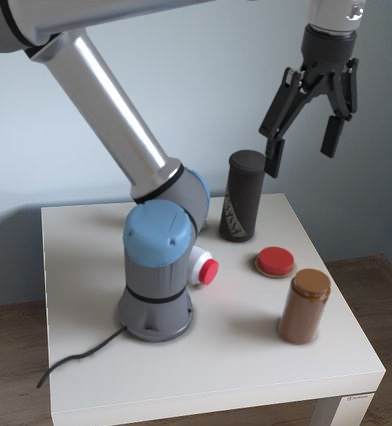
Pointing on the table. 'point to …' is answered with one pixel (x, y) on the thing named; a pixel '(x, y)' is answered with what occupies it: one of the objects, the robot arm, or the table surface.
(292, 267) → the coaster
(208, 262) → the pill bottle
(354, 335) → the table surface
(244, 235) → the container
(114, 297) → the table surface
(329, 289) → the sauce jar
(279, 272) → the jar lid
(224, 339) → the table surface
